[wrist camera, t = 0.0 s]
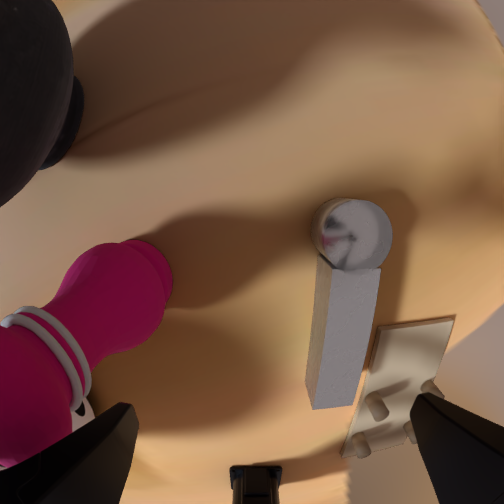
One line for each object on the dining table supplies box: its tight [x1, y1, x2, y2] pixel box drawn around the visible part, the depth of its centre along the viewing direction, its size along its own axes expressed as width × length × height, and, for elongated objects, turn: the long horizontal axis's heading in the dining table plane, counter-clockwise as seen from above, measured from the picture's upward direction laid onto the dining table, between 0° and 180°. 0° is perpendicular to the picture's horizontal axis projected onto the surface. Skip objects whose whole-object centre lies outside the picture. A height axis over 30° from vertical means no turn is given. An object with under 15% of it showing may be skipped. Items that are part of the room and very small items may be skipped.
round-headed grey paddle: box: [305, 198, 393, 410], centre depth 20 cm, size 16×5×4 cm, turn 0°
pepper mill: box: [0, 240, 173, 468], centre depth 11 cm, size 7×7×20 cm
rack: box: [340, 317, 454, 458], centre depth 23 cm, size 19×9×4 cm, turn 0°
